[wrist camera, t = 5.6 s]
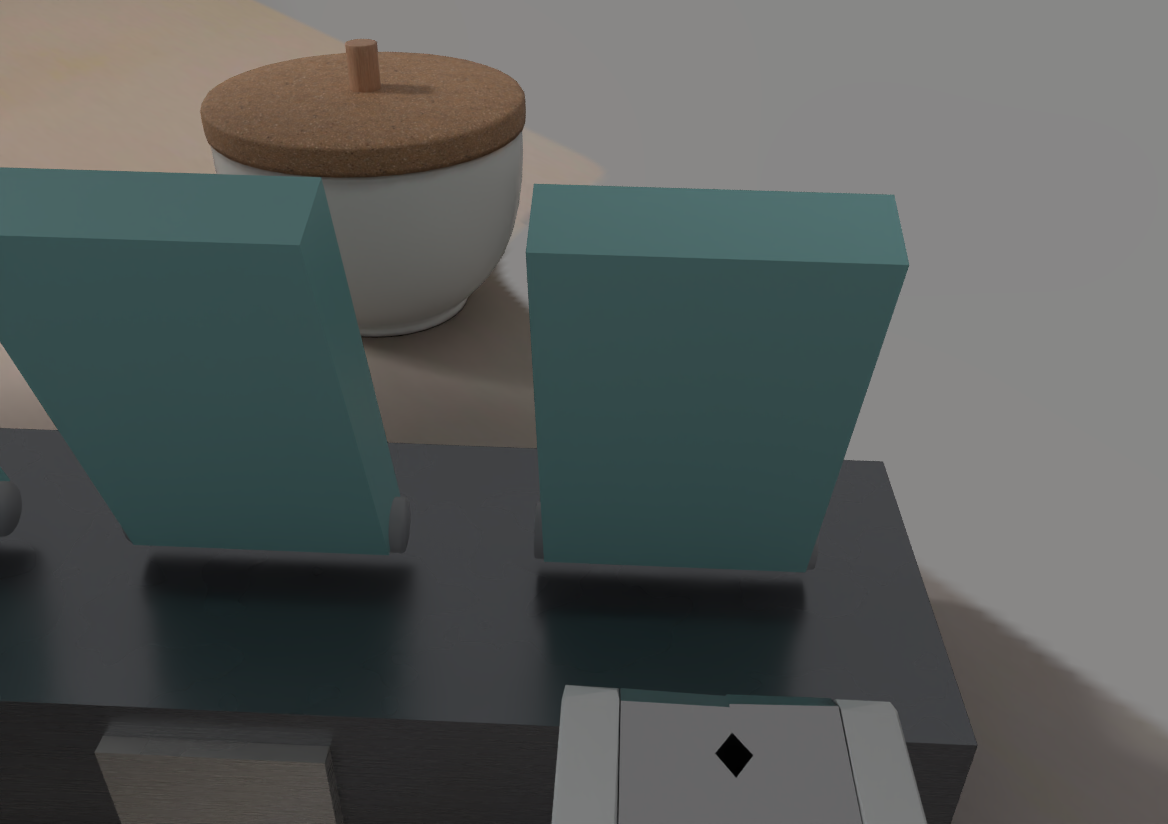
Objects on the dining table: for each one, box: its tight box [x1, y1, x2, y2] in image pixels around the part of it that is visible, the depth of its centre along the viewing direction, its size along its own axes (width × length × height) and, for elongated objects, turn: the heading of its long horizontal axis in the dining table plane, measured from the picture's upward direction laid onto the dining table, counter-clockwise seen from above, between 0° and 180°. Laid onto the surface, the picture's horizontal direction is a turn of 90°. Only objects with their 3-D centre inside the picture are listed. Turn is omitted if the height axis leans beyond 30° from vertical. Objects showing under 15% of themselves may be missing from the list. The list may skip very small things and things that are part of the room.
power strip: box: [0, 428, 977, 824], centre depth 22 cm, size 27×8×4 cm, turn 87°
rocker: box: [0, 168, 410, 555], centre depth 18 cm, size 5×1×8 cm, turn 88°
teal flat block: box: [526, 184, 909, 572], centre depth 17 cm, size 5×1×8 cm, turn 87°
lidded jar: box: [200, 39, 526, 337], centre depth 36 cm, size 11×11×9 cm
